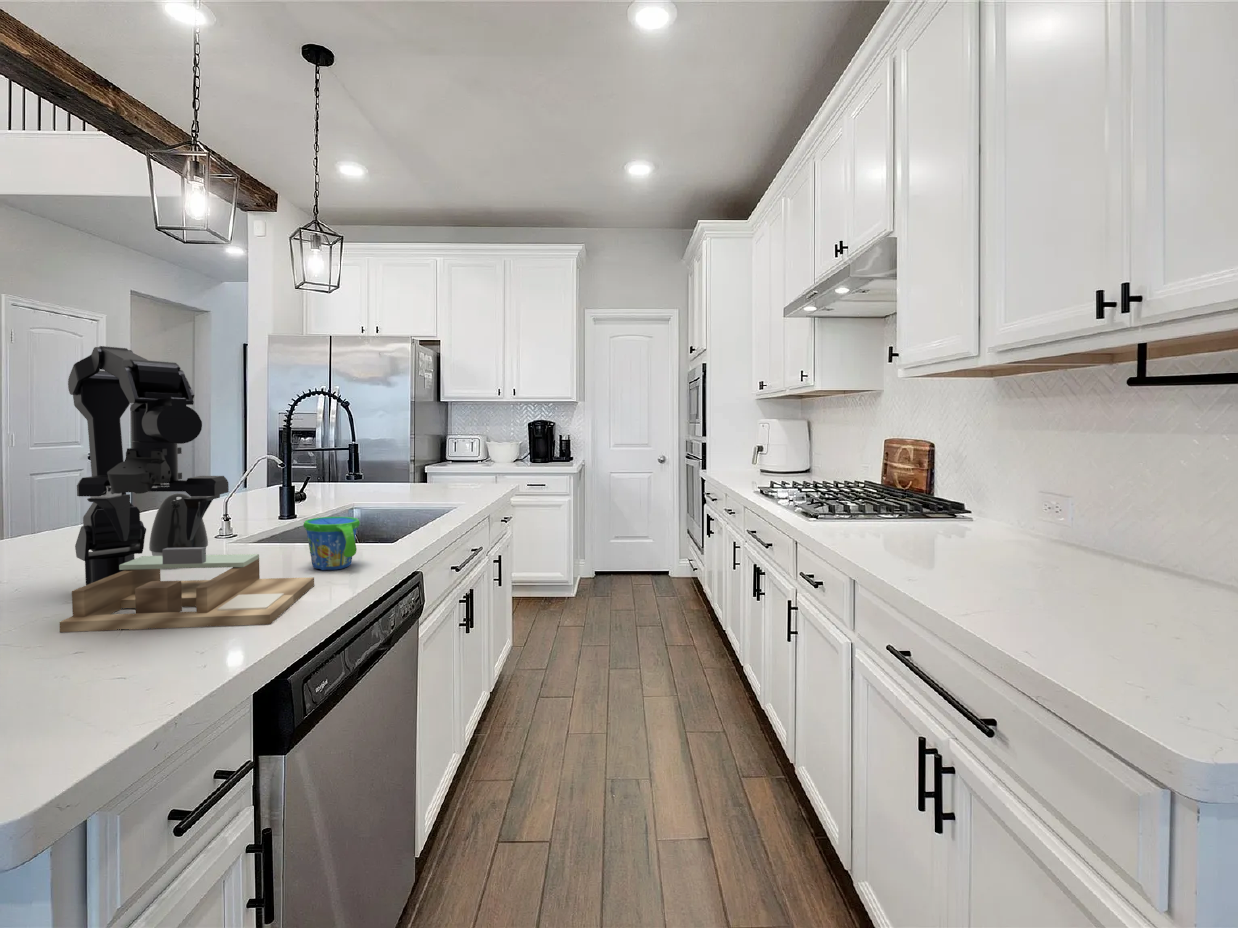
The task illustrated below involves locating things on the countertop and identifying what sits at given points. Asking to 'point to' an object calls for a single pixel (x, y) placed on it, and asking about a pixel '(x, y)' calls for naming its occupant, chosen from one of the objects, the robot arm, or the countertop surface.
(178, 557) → the sliding cover
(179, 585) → the walnut block
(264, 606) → the cream pad
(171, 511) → the dark grey rounded dome
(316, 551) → the snack cup
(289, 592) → the puzzle board
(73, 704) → the countertop surface
